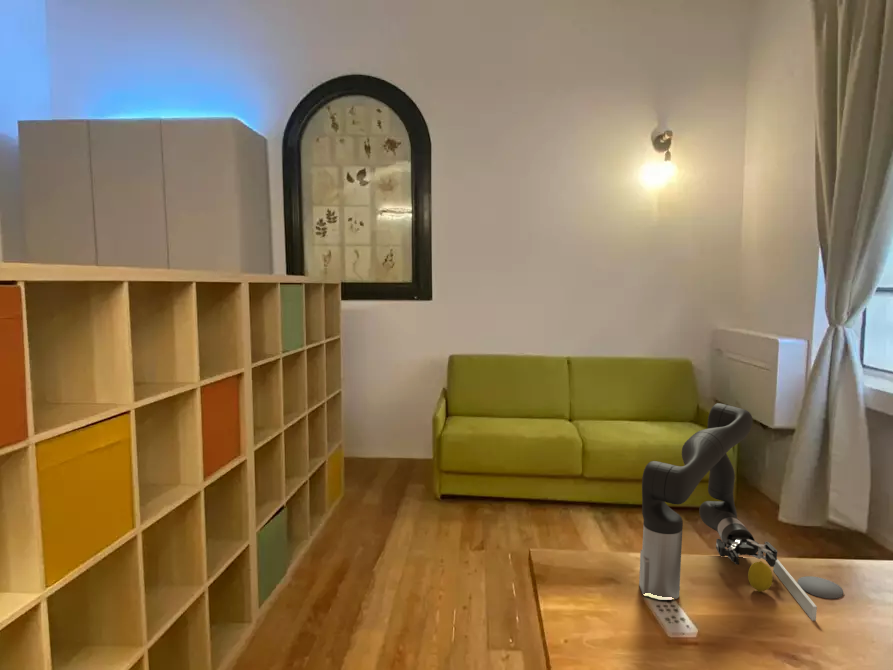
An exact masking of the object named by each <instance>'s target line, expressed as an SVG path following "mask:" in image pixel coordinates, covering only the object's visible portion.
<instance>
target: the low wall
mask: <svg viewBox="0 0 893 670" xmlns="http://www.w3.org/2000/svg"><path fill="white" fill-rule="evenodd" d="M772 569H773V570H772V571H773V573H774V574H775V575H776V576H777V578H778V579H779V580H780V582H781V583H782V584H783V586H785V588H786V589H787V591H789V593H790V594H791V596H792V597H793V598H794V599H795V601H796V602H797V603H798V605H799V606H800V607H801V608H802V610H803V611H804V612H805V614H806V615H807V616H808V617H809V619H810V620H811V621H812V622H816V620H817V611H818V606H817V605H816V604H815V602H814V601H813V600H812V599H811V597H810V596H809V595H808V593H807V592H805V591H803V589H802V588H801V587H800V586H799V584H798V581H797V580H796V579H795V578H794V577H793V576H792V575H791V573H790V572H789V571H788V570H787V569H786V568H785V566H784V565H783V564H782V562H781V561H780V560H779V559H778V558H777V560H775V565H774V567H772Z"/></svg>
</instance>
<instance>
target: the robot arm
mask: <svg viewBox="0 0 893 670" xmlns="http://www.w3.org/2000/svg"><path fill="white" fill-rule="evenodd" d="M707 417H708V418H707V428H705V429H701V430H698V431H697V432H695V433H694V434H693V435H691V436H690V437H689V438H688V439H687V440H686V441H685V442H684V443H683V445H682V448H681V458H682V461H683V464H684V465H683V466H682V465H681V466H680V465H676V464H670V463H667V462H661V461H656V460H652V461H651V460H650V462H648V463H647V464H646V465H645V468H644V469H643V473H642V476H641V477H642V480H641V496H642V497H641V498H642V499H641V500H642V501H641V502H642V503H641V506H642V507H641V510H642V511H641V513H642V514H641V515H642V519H643V523H642V524H643V525H642V526H643V528H642V530H643V531H642V547H641V548H642V549H640V557H639V577H638V579H639V581H638V582H639V583H638V585H639V589H640V591H641V595H642V594H645V593H651V594H653V595H657V596H662V597H672V598H674V599H676V600H677V599H679V597H680V590H681V587H680V585H681V570H682V569H681V568H682V567H681V566H682V545H683V543H682V542H683V529H684V528H683V527H684V525H683V518H682V516H681V515H680V514H679V513H677V512H676V511H675V510H674V509H672V508H671V507H670V506H668V504H671V505H682V504H684V503H685V502H687V500H688V499H689V498H690V497H691V495H692V494H693V493H694V491H695V489H696V488H697V487H698V485H699V484H700V482H701V481H702V479H704V477H705V476H706V475H707V474H708V473H709V476H708V485H707V486H708V487H707V491H708V494H709V496H710V497H711V498H713V499H715V500H706V501H704V502H702V503H701V504H700V506H699V509H698V510H699V511H698V513H699V517H700V518H701V520H702V521H701V522H703V523H704V524H705V525H706V526H707V527H709V528H711V530H713V531H716V532H717V533H718V535H719V538H716V541H715V543H716V544H715V548H716V551H717V553H718V554H719V556H720V557H722V558H725V557H727V558H728V559H730V561H731V562H732V563H734V564H735V565H740V556H746V555H747V556H749V557H750V556H751V557H753V558H756V559H758V560H760V559H762V560H764V561H765V562H766V564H767V565H768V566H769V568H773V567H774V565H775V560H777V559H778V558H777V557H778V550H777V548H775V546H773V545H772V544H771V543H770V542H769V541H764V544H762V543H761V544H760V543H759V542H758V541H755V538H754V536H753V535H752V533H751V532H750V530H748V528H747V527H746V525H744V524H743V522H742V521H740V520H739V519H738V512H737V508H736V506H735V499H734V486H735V477H736V476H735V473H736V472H735V469H734V467H733V464H732V462H731V460H730V458H729V456H728V454H727V452H729V451H730V450H731V449H732V448H734V447H735V446H736V445H738V444H739V443H740V442H742V441H743V440H744V439H745V438H747V436H748V435H749V433H750V432H751V430H752V426H753V422H754V420H753V416H752V414H751V412H750V411H748V410H746V409H745V408H740V407H737V406H732V405H729V404H725V403H719V402H717V403H715V404H714V405H713V406H712V407H711V409H710V410H709V414H708V416H707ZM717 500H718V501H717ZM667 503H668V504H667ZM764 554H765V555H764Z"/></svg>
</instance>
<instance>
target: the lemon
mask: <svg viewBox="0 0 893 670" xmlns="http://www.w3.org/2000/svg"><path fill="white" fill-rule="evenodd" d="M772 571H773V570H772V569H771V567H770V565H769V564H767V563H764V561H761V560H760V561H755V562H753V563H752V564H751V565H750V567H749V568H748V572H747V579H748V583H749V584H750V586H751V587H752V588H753V589H755V590H756V591H757V592H758V593H762V592H765V591H767V590H769V589H770V588H771V586H772V585H773V578H774V577H773V572H772Z"/></svg>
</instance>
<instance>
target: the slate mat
mask: <svg viewBox="0 0 893 670" xmlns="http://www.w3.org/2000/svg"><path fill="white" fill-rule="evenodd" d="M797 583H798V584H799V586H800V587H801V588H802V589H803V591H804V592H805V593H806V594H809V595H812V596H814V597H818V598H822V599H831V600H832V599H833V600H835V599H839V598H842V597H843V596H844V589H843V587H841V586H840V585H839V584H838V583H835V582H834V581H831V580H829V579H826V578H823V577H818V576H812V575H810V576H807V575H806V576H801V577H799V578H798V579H797Z"/></svg>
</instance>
